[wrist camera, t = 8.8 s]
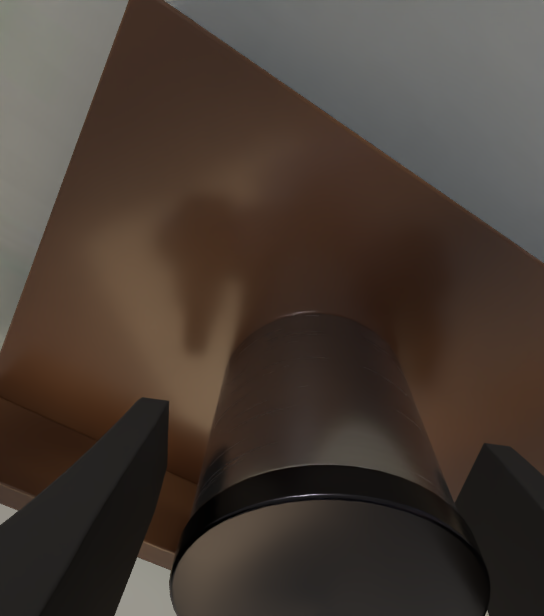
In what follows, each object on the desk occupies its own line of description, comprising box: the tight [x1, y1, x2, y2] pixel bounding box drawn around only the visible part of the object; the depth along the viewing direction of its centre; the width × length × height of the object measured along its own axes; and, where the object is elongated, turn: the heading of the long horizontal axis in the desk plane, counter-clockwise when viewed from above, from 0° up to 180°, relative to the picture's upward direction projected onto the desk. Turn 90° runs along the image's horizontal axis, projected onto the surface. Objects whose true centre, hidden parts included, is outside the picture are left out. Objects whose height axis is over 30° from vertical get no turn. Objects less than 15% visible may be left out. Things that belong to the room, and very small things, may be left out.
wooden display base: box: [0, 0, 544, 570], centre depth 12 cm, size 16×12×5 cm
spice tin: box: [169, 313, 491, 616], centre depth 9 cm, size 5×5×6 cm
